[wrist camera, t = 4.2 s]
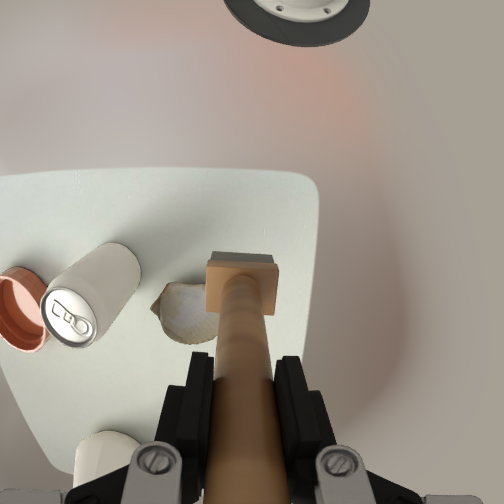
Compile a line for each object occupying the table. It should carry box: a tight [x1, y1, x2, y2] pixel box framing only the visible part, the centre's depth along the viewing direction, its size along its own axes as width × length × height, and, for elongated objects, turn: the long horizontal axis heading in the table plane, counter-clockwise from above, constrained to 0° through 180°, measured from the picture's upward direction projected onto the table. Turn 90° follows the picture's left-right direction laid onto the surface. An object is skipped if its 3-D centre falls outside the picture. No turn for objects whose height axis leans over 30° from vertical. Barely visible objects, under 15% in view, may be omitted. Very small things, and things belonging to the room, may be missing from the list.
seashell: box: [150, 282, 220, 345], centre depth 33 cm, size 8×3×8 cm
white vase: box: [73, 431, 141, 488], centre depth 35 cm, size 13×13×14 cm
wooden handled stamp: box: [203, 251, 291, 504], centre depth 14 cm, size 4×3×17 cm
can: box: [40, 243, 141, 349], centre depth 27 cm, size 6×6×12 cm
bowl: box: [0, 267, 52, 353], centre depth 32 cm, size 11×11×4 cm
